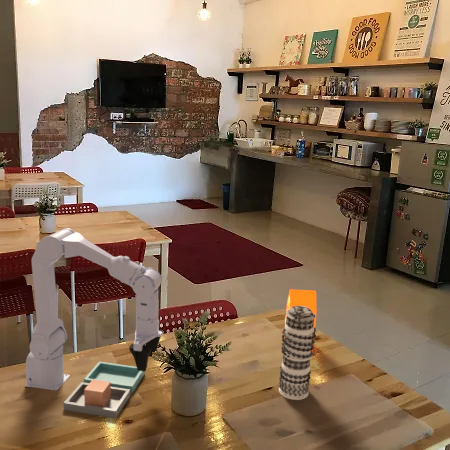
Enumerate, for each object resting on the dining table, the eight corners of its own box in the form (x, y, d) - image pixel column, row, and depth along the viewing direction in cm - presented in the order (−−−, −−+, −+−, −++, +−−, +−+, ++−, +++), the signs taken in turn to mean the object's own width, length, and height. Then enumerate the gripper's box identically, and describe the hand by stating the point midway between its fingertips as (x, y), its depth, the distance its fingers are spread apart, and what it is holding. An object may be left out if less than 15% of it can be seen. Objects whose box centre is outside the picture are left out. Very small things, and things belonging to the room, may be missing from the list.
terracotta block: (84, 406, 129) (84, 389, 128) (93, 396, 134) (92, 379, 133) (102, 409, 129) (102, 392, 127) (110, 398, 133) (110, 382, 132)
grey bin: (63, 411, 128) (63, 402, 127) (81, 390, 138) (81, 382, 137) (115, 420, 126) (115, 411, 125) (130, 397, 135) (130, 389, 135)
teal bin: (84, 387, 139) (83, 379, 138) (99, 369, 149) (99, 361, 148) (132, 394, 137) (132, 386, 136) (144, 375, 146) (144, 367, 146)
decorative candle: (317, 395, 140) (325, 312, 134) (290, 404, 136) (297, 318, 130) (297, 379, 148) (304, 300, 142) (271, 387, 144) (277, 305, 138)
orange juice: (312, 352, 165) (318, 295, 160) (285, 350, 165) (290, 293, 160) (309, 341, 173) (314, 286, 168) (283, 339, 173) (288, 285, 168)
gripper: (153, 329, 123) (152, 379, 126) (170, 306, 137) (169, 352, 140) (125, 325, 124) (125, 375, 127) (145, 303, 138) (144, 348, 141)
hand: (146, 363), depth 134 cm, fingers open, 7 cm apart
